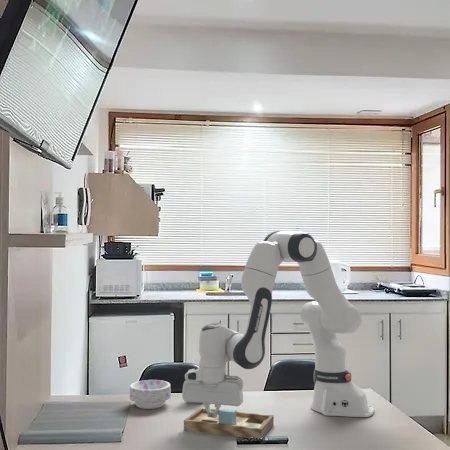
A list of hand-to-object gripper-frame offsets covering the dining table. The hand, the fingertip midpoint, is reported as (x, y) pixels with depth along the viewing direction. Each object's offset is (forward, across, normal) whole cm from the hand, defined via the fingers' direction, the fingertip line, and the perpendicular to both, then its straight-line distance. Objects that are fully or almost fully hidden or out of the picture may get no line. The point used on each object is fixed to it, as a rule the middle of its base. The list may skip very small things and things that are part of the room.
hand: (212, 417), depth 182 cm
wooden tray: (+4, -5, -4) cm, 7 cm away
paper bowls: (+4, +32, -17) cm, 36 cm away
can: (+4, +18, -28) cm, 34 cm away
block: (+2, -5, +1) cm, 6 cm away
